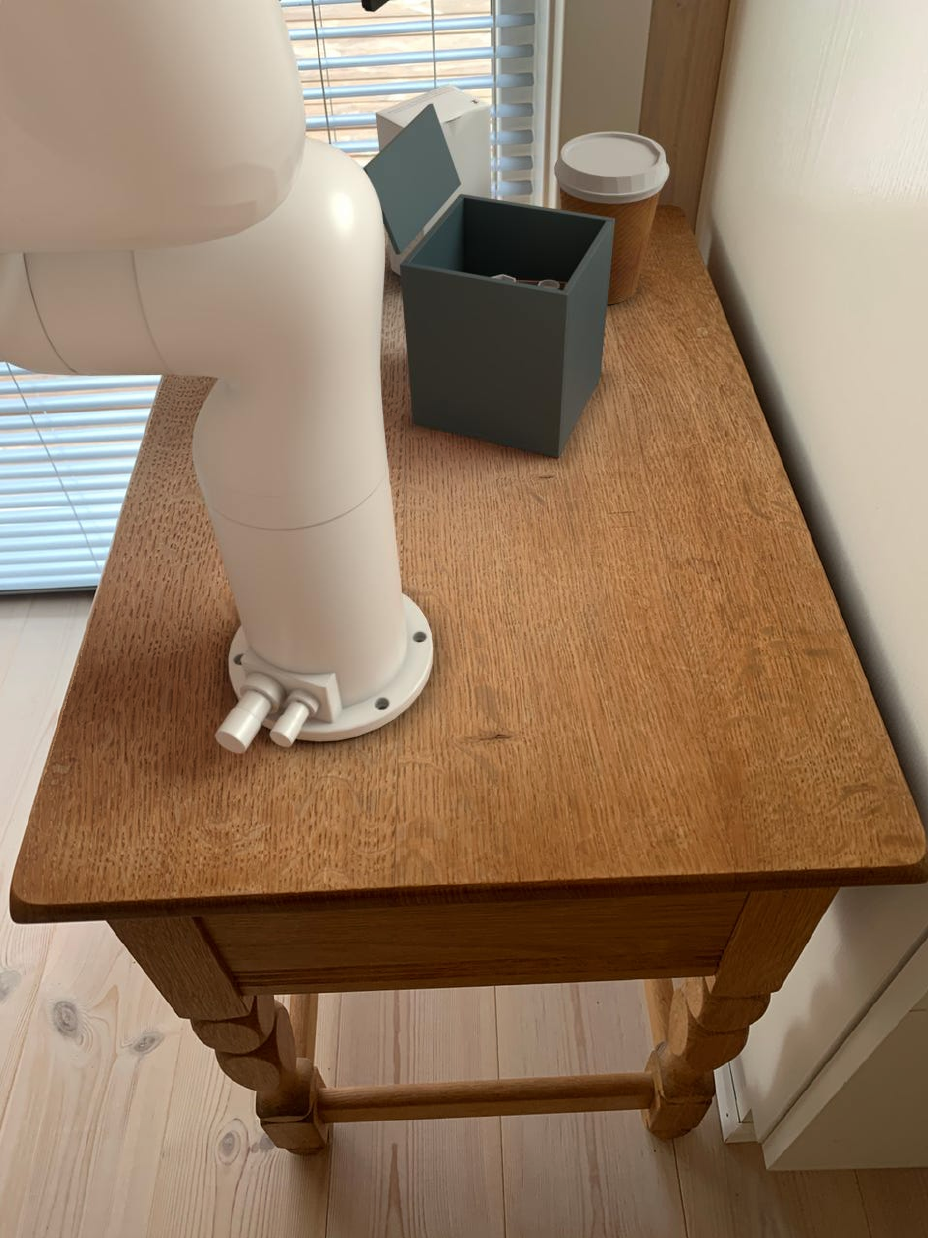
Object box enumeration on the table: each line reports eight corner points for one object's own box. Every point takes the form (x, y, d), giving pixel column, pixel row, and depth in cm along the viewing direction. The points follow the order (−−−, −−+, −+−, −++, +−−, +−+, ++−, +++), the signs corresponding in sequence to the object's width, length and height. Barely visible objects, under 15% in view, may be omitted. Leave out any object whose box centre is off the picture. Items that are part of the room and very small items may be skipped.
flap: (400, 254, 66) (396, 255, 67) (461, 184, 73) (457, 185, 73) (365, 168, 63) (360, 169, 63) (432, 102, 70) (428, 104, 70)
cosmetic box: (456, 243, 96) (450, 79, 85) (496, 266, 93) (495, 99, 82) (386, 273, 93) (371, 106, 81) (426, 298, 89) (415, 129, 78)
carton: (412, 424, 77) (399, 264, 67) (465, 349, 84) (460, 193, 74) (558, 458, 74) (567, 295, 64) (600, 377, 81) (615, 217, 71)
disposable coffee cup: (645, 321, 86) (661, 184, 77) (538, 307, 88) (543, 172, 79) (661, 266, 92) (679, 134, 83) (561, 255, 94) (568, 124, 85)
